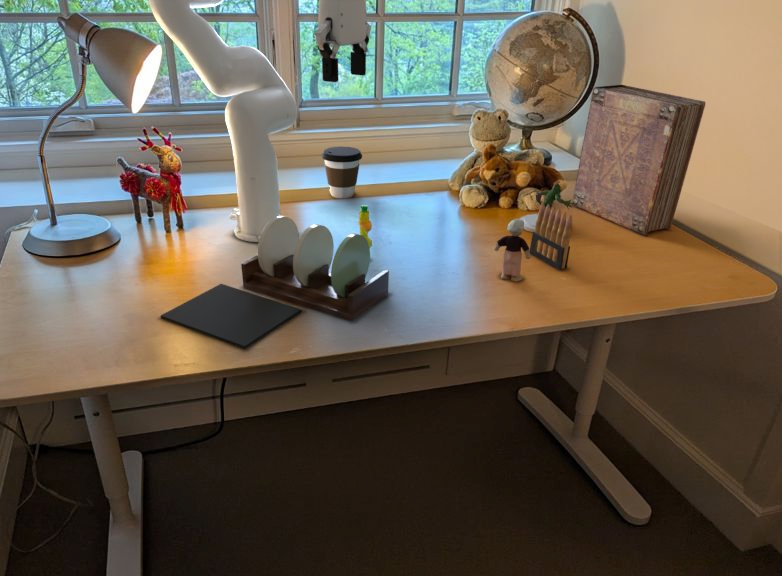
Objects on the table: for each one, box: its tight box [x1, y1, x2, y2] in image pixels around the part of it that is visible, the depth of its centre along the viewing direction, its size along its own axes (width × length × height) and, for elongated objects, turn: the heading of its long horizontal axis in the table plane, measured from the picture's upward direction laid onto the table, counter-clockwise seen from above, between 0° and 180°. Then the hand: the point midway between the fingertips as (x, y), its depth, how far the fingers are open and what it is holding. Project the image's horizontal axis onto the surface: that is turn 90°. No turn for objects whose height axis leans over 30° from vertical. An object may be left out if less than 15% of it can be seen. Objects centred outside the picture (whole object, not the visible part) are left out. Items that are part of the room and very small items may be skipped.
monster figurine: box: [519, 182, 573, 233], centre depth 157 cm, size 12×12×10 cm
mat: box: [160, 283, 303, 350], centre depth 118 cm, size 20×16×1 cm
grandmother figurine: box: [493, 218, 532, 283], centre depth 130 cm, size 8×4×13 cm, turn 71°
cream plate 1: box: [257, 215, 300, 277], centre depth 127 cm, size 1×12×12 cm, turn 149°
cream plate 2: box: [293, 224, 335, 287], centre depth 123 cm, size 1×12×12 cm, turn 149°
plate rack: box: [240, 254, 390, 323], centre depth 126 cm, size 26×13×5 cm, turn 58°
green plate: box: [330, 233, 371, 298], centre depth 119 cm, size 1×12×12 cm, turn 149°
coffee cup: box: [321, 146, 363, 199], centre depth 175 cm, size 11×11×12 cm
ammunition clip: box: [529, 201, 573, 271], centre depth 138 cm, size 11×2×12 cm, turn 26°
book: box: [571, 84, 706, 237], centre depth 158 cm, size 25×9×30 cm, turn 28°
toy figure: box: [358, 204, 373, 249], centre depth 137 cm, size 7×4×12 cm, turn 13°
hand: (344, 78), depth 123 cm, fingers open, 9 cm apart
